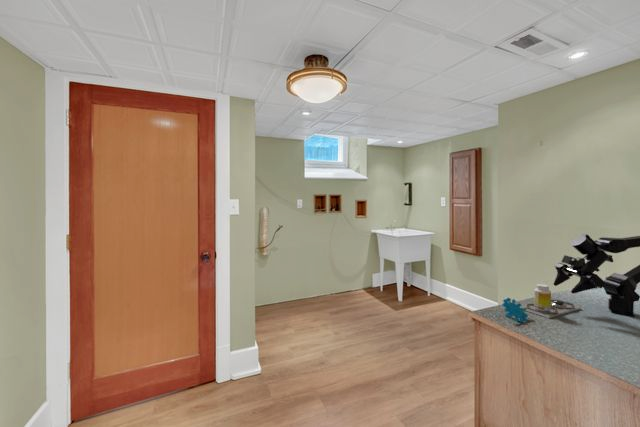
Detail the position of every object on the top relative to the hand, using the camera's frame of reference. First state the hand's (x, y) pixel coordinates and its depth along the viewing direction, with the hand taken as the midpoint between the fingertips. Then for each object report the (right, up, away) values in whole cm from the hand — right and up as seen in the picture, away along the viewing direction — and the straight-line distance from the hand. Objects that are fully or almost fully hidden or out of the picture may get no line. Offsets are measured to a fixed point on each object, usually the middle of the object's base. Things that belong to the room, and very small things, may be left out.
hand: (562, 288), depth 118 cm
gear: (-24, -11, -6) cm, 27 cm away
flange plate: (-2, -10, +3) cm, 10 cm away
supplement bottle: (-8, -9, +1) cm, 12 cm away
